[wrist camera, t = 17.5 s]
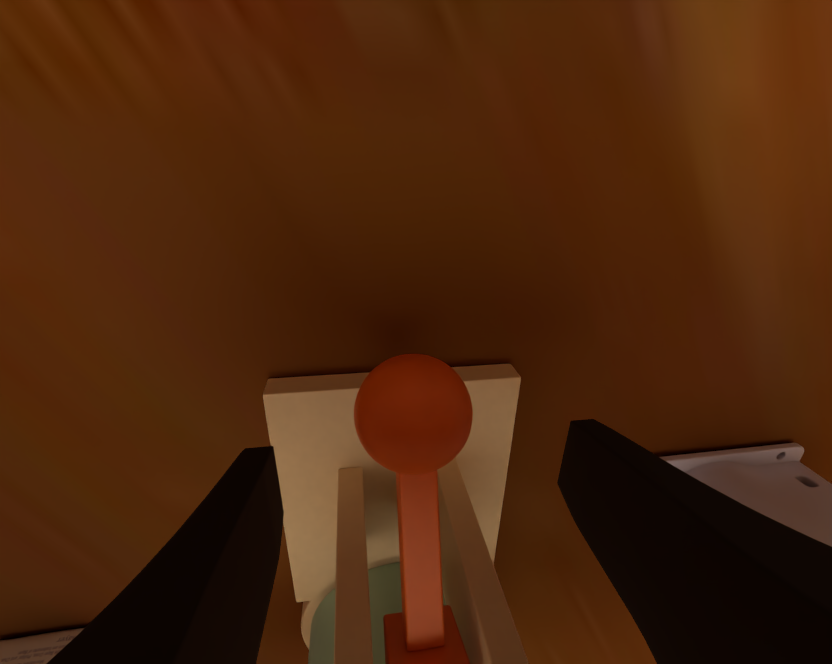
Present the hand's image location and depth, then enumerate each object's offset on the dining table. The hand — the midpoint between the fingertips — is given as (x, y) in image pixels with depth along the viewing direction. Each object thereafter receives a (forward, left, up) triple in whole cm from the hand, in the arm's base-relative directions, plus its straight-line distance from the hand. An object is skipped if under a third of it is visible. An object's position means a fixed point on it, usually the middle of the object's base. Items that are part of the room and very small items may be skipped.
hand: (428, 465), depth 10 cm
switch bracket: (0, +7, -7) cm, 10 cm away
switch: (0, +4, -2) cm, 5 cm away
